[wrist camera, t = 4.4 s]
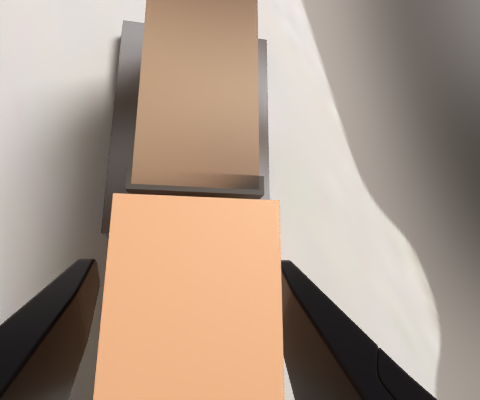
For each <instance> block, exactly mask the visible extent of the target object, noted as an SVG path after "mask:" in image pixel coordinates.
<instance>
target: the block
mask: <svg viewBox="0 0 480 400" xmlns="http://www.w3.org/2000/svg"><path fill="white" fill-rule="evenodd" d="M93 400H284V362H283V323H282V284H281V245H280V206H279V200H259V199H236V198H213V197H190V196H167V195H144V194H120V193H113V200H112V210H111V220H110V231H109V241H108V251H107V261H106V272H105V282H104V292H103V303H102V313H101V323H100V333H99V344H98V354H97V364H96V374H95V385H94V395H93Z"/></svg>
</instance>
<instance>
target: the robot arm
mask: <svg viewBox="0 0 480 400" xmlns="http://www.w3.org/2000/svg"><path fill="white" fill-rule="evenodd" d="M281 284H282V323H283V356H284V359H285V363H286V367H287V371H288V375H289V379H290V383H291V387H292V390H293V394H294V398H295V400H437V399H436V398H434V397H433V396H432V395H431V394H430V393H429V392H428V391H426V390H425V389H424V388H423V387H422V386H421V385H419V384H418V383H417V382H416V381H415V380H414V379H413V378H411V377H410V376H409V375H408V374H407V373H406V372H405V371H404V370H403V369H402V368H401V367H400V366H399V365H397V364H396V363H395V362H394V361H393V360H392V359H391V358H390V357H389V356H388V355H387V354H386V353H385V352H384V351H383V350H382V349H381V348H378V346H377V344H376V343H375V342H373V341H372V340H371V339H370V338H369V337H368V336H367V335H366V334H365V333H364V332H363V331H362V330H361V329H360V328H359V327H358V326H357V325H356V324H355V323H354V322H353V321H352V320H351V319H350V318H349V317H348V316H347V315H346V314H345V313H344V312H343V311H342V310H341V309H340V308H339V307H338V306H337V305H335V304H334V303H333V302H332V301H331V300H330V299H329V298H328V297H327V296H326V295H325V294H324V293H323V292H322V291H321V290H320V289H319V288H318V287H317V286H316V285H315V284H314V283H313V282H312V281H311V280H310V279H309V278H308V277H307V276H306V275H305V274H304V273H303V272H302V271H301V270H300V269H299V268H297V267H296V266H295V265H294V264H293V263H292V262H291V261H289V260H281ZM99 285H100V280H99V273H98V267H97V262H96V260H95V259H79V260H77V261H76V262H75V263H74V264H72V265H71V266H70V267H69V268H68V269H67V270H65V271H64V272H63V273H62V274H61V275H59V276H58V277H57V278H56V279H55V280H53V281H52V282H51V283H50V284H49V285H48V286H46V287H45V288H44V289H43V290H42V291H40V292H39V293H38V294H37V295H36V296H34V297H33V298H32V299H31V300H30V301H29V302H27V303H26V304H25V305H24V306H23V307H21V308H20V309H19V310H18V311H17V312H16V313H14V314H13V315H12V316H11V317H10V318H8V319H7V320H6V321H5V322H4V323H2V324H1V325H0V400H68V397H69V395H70V392H71V389H72V386H73V383H74V380H75V377H76V374H77V371H78V368H79V365H80V362H81V359H82V356H83V353H84V351H85V347H86V344H87V341H88V337H89V332H90V328H91V323H92V319H93V314H94V309H95V305H96V300H97V296H98V291H99Z"/></svg>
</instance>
